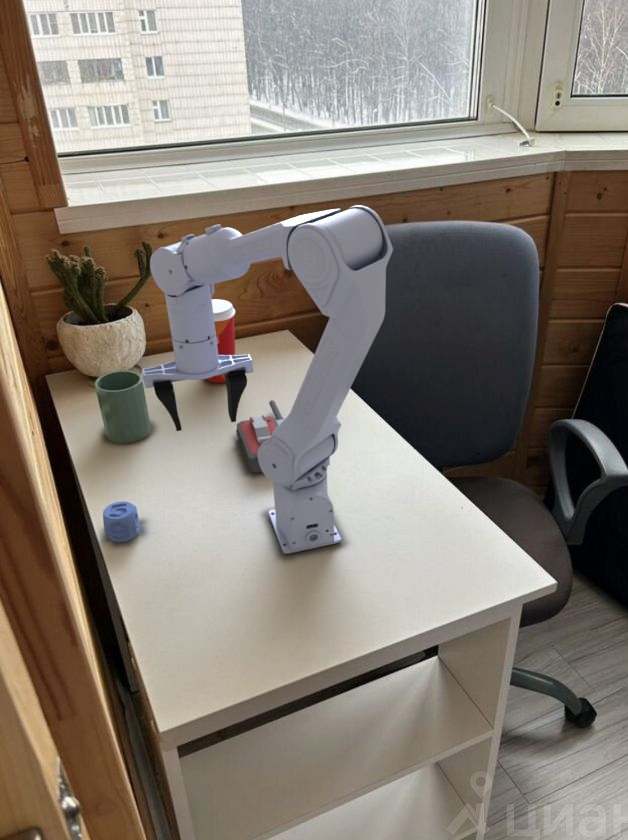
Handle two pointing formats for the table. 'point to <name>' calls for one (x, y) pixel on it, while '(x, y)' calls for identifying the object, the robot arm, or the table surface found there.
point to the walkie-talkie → (257, 435)
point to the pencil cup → (123, 406)
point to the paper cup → (223, 331)
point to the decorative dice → (121, 521)
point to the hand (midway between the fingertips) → (205, 423)
